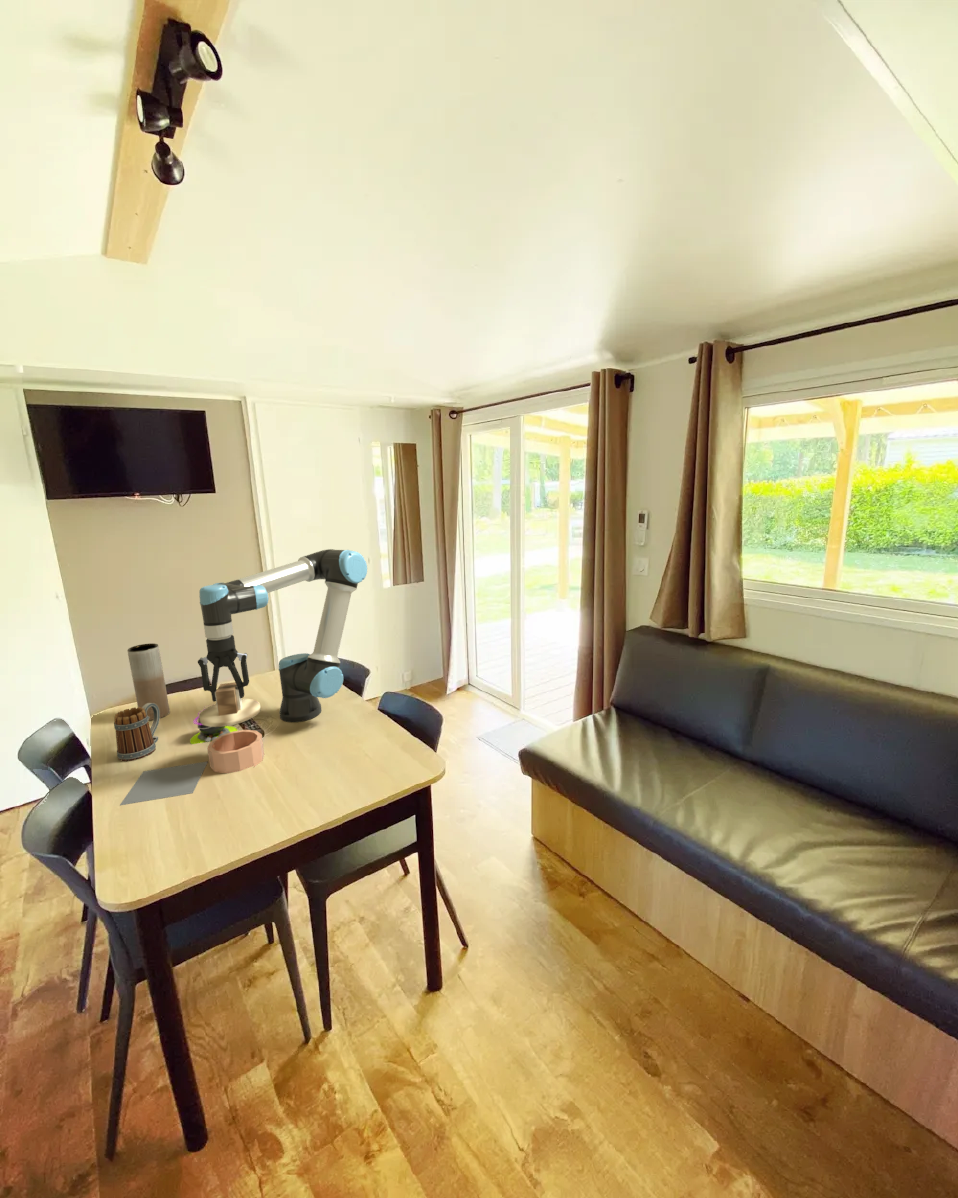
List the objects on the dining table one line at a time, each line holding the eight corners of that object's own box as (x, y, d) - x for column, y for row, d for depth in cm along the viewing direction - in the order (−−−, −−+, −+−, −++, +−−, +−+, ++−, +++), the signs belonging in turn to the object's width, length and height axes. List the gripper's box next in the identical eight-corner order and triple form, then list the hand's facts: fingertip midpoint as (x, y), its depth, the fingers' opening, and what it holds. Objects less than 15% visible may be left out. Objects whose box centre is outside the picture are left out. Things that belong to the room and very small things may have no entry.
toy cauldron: (183, 738, 177) (178, 708, 174) (227, 722, 187) (223, 695, 185) (199, 751, 167) (194, 720, 164) (245, 734, 178) (240, 705, 175)
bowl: (266, 746, 168) (264, 727, 167) (260, 769, 154) (257, 748, 153) (217, 753, 164) (214, 734, 163) (206, 778, 150) (202, 756, 149)
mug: (137, 764, 160) (129, 720, 156) (109, 762, 162) (100, 718, 159) (175, 740, 174) (168, 700, 171) (149, 738, 177) (142, 698, 173)
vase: (175, 713, 197) (163, 645, 191) (147, 723, 189) (134, 652, 183) (162, 708, 202) (150, 641, 197) (135, 717, 194) (122, 648, 189)
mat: (208, 763, 159) (208, 761, 159) (193, 795, 142) (192, 793, 142) (143, 773, 154) (143, 771, 154) (119, 807, 137) (119, 805, 137)
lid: (264, 700, 166) (260, 674, 164) (256, 721, 150) (252, 693, 148) (207, 707, 162) (203, 681, 160) (193, 730, 146) (188, 701, 144)
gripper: (254, 630, 157) (263, 700, 161) (189, 636, 152) (201, 708, 157) (250, 636, 149) (259, 709, 154) (182, 643, 145) (194, 718, 150)
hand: (230, 709), depth 155 cm, fingers closed on lid, 5 cm apart
